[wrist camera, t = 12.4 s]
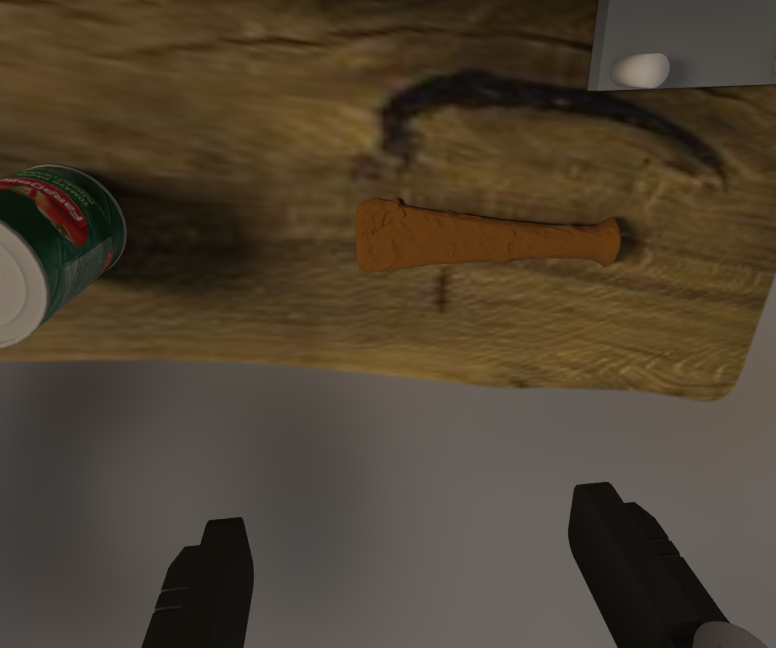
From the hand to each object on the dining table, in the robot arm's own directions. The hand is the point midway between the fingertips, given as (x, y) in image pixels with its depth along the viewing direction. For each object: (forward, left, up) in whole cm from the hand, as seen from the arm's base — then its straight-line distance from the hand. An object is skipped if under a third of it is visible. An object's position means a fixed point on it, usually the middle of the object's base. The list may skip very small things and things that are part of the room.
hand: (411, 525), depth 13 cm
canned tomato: (-15, -14, -28) cm, 35 cm away
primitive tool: (+7, +5, -29) cm, 30 cm away
